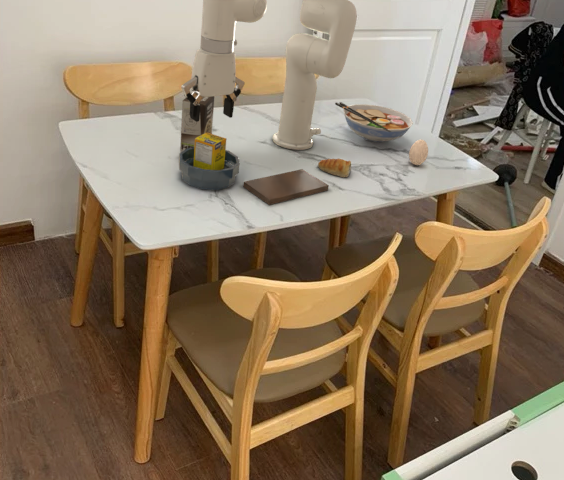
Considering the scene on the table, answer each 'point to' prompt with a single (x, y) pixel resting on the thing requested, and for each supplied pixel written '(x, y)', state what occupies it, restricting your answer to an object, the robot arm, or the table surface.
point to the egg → (418, 152)
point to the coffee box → (193, 128)
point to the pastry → (335, 167)
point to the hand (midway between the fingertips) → (211, 117)
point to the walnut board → (285, 186)
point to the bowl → (208, 171)
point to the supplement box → (209, 152)
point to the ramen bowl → (376, 121)
